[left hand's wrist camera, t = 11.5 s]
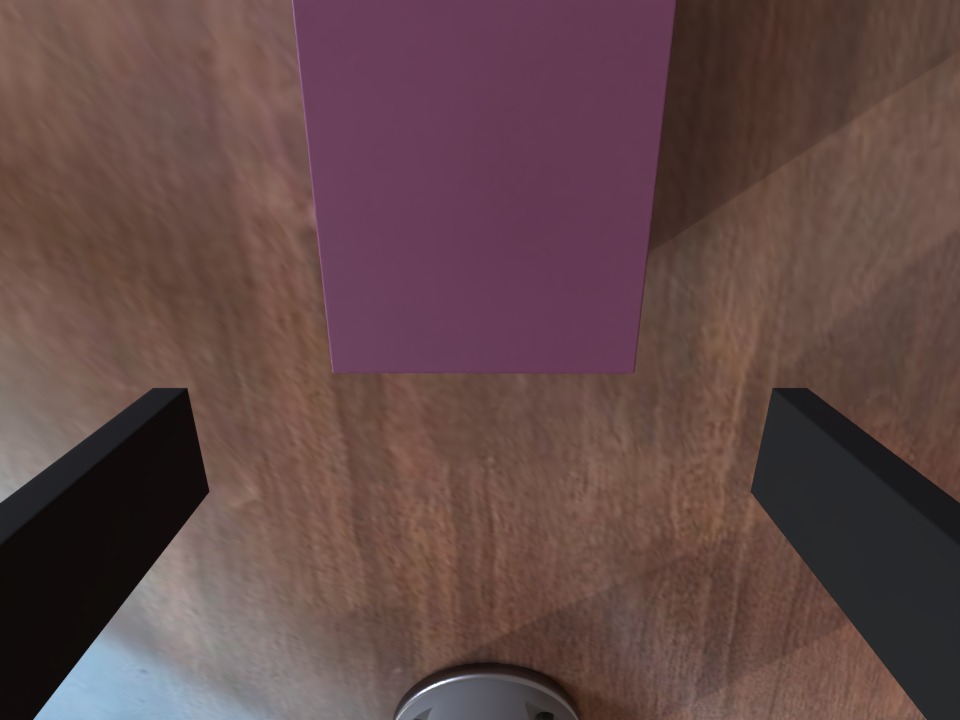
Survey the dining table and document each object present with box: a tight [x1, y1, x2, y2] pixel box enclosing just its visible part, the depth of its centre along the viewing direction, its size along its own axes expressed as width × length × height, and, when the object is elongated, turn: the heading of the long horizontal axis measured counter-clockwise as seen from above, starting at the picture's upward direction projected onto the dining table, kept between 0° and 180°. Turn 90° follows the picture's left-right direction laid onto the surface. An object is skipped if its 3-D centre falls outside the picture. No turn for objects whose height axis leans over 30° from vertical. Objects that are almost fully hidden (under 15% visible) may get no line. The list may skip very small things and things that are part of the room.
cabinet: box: [292, 0, 677, 373], centre depth 23 cm, size 19×12×11 cm, turn 0°
